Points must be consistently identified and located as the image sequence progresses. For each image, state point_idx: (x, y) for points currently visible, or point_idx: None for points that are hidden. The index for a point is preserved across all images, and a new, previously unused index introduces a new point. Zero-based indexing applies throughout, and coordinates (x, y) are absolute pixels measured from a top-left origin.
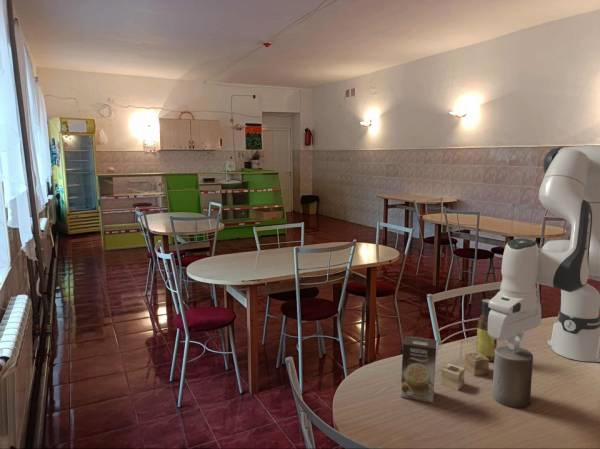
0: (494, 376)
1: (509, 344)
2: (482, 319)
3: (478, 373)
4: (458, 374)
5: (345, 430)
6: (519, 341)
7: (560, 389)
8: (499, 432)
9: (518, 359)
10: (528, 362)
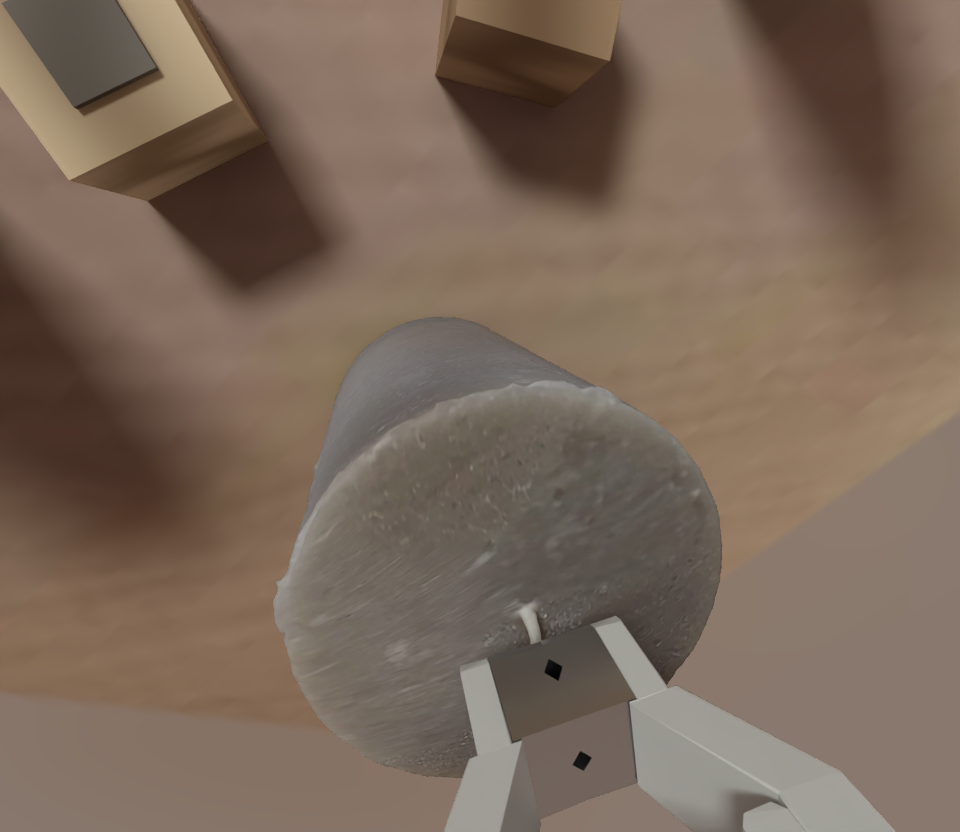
0: (332, 420)
1: (472, 728)
2: None
3: (475, 79)
4: (76, 176)
5: None
6: (647, 788)
7: (746, 432)
8: (132, 638)
9: (410, 769)
10: None
